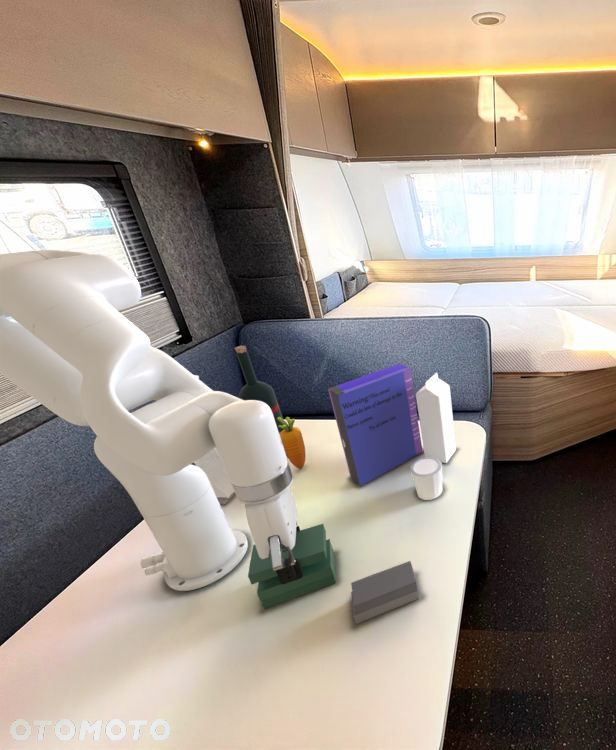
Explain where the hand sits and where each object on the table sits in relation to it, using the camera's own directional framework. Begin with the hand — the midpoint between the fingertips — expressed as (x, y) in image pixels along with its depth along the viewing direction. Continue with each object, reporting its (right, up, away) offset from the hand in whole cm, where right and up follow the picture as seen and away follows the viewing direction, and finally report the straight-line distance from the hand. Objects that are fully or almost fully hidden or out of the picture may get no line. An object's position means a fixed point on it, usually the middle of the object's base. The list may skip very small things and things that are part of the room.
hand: (293, 561), depth 65 cm
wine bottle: (-25, +11, +37) cm, 46 cm away
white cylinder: (+19, +6, +21) cm, 29 cm away
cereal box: (+7, +9, +30) cm, 33 cm away
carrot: (-14, +8, +30) cm, 34 cm away
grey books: (+16, -5, -2) cm, 17 cm away
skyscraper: (-28, +5, +23) cm, 37 cm away
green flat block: (0, +1, -1) cm, 1 cm away
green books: (+1, -4, +2) cm, 4 cm away
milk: (+20, +11, +33) cm, 40 cm away
